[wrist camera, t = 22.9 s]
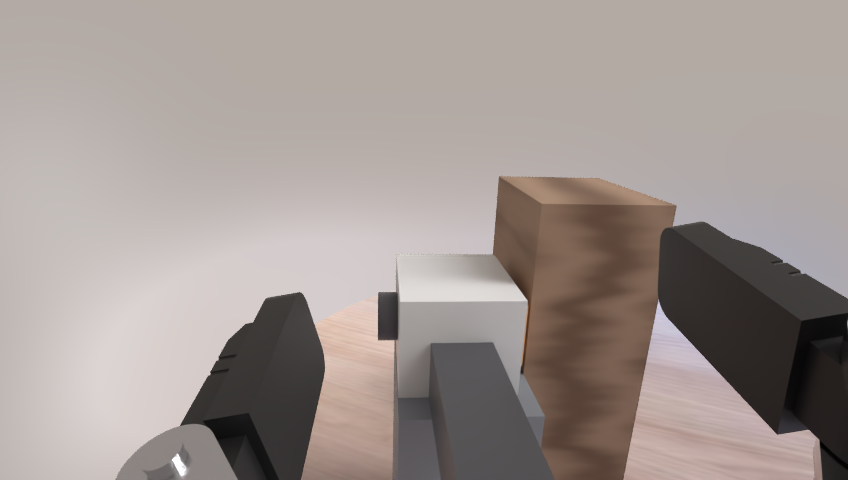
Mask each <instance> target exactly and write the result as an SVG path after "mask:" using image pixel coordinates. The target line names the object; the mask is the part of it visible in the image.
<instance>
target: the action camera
mask: <svg viewBox="0 0 848 480" xmlns="http://www.w3.org/2000/svg"><path fill="white" fill-rule="evenodd" d="M527 304H528V301H527V299H526V298H525V297H524V295H523V294H522V292H521V291H520V290H519V288H518V287H517V285H516V284H515V283H514V281H513V280H512V278H511V277H510V276H509V274H508V273H507V272H506V270H505V269H504V267H503V266H502V265H501V263H500V262H499V260H498V259H497V258H496V256H495V255H467V254H466V255H465V254H464V255H460V254H449V255H448V254H442V255H441V254H438V255H437V254H397V256H396V292H379V293H378V340H396V356H397V379H398V398H423V397H429V403H430V409H431V416H432V423H433V430H434V436H435V443H436V450H437V457H438V464H439V470H440V477H441V480H555V479H554V477H553V474H552V472H551V470H550V468H549V465H548V463H547V461H546V459H545V457H544V454H543V452H542V450H541V448H540V445H539V443H538V441H537V439H536V437H535V434H534V432H533V430H532V428H531V425H530V423H529V421H528V419H527V417H526V414H525V412H524V410H523V408H522V406H521V403H520V401H519V399H518V397H517V395H518V390H519V380H520V371H521V366H522V362H523V353H524V343H525V334H526V325H527V315H528V305H527Z"/></svg>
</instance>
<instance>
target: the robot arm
mask: <svg viewBox="0 0 848 480" xmlns="http://www.w3.org/2000/svg"><path fill="white" fill-rule="evenodd" d="M658 298H659V302H660V305H661V308H662V310H663V312H664V314H665V315H666V317H667V318H668V319H669V320H670V321H671V322H672V323H673V324H674V325H675V326H676V327H677V329H678V330H679V331H680V332H681V333H682V334H683V335H684V336H685V337H686V338H687V339H688V340H689V341H690V342H691V343H692V344H693V346H694V347H695V348H696V349H697V350H698V351H699V352H700V353H701V354H702V355H703V356H704V357H705V358H706V359H707V360H708V361H709V363H710V364H711V365H712V366H713V367H714V368H715V369H716V370H717V371H718V372H719V373H720V374H721V375H722V376H723V377H724V378H725V380H726V381H727V382H728V383H729V384H730V385H731V386H732V387H733V388H734V389H735V390H736V391H737V392H738V393H739V394H740V395H741V397H742V398H743V399H744V400H745V401H746V402H747V403H748V404H749V405H750V406H751V407H752V408H753V409H754V410H755V411H756V412H757V414H758V415H759V416H760V417H761V418H762V419H763V420H764V421H765V422H766V423H767V424H768V425H769V426H770V427H771V428H772V429H773V431H774V432H775V433H776V434H777V435H778V434H784V433H790V432H796V431H802V430H810V431H811V432H812V433H813V434H814V435H815V436H816V437H817V438H816V442H815V445H814V450H813V459H814V475H815V477H814V480H848V299H847V298H846V297H844V296H842V295H840V294H839V293H837V292H835V291H834V290H832V289H830V288H828V287H827V286H825V285H824V284H822V283H820V282H818V281H817V280H815V279H813V278H812V277H810V276H808V275H807V274H801V272H800V270H798V269H796V268H795V267H793V266H791V265H789V264H788V263H783V260H781V259H780V258H778V257H776V256H774V255H773V254H771V253H769V252H768V251H766V250H764V249H762V248H760V247H757V246H754V245H751V244H748V243H744V242H742V241H739V240H735V239H732V238H730V237H729V236H727V235H725V234H724V233H722V232H721V231H719V230H717V229H716V228H714V227H712V226H711V225H709V224H708V223H705V222H696V223H691V224H685V225H680V226H674V227H668V228H665V229H664V230H663V232H662V234H661V237H660V250H659V271H658ZM324 372H325V362H324V354H323V349H322V346H321V343H320V340H319V337H318V334H317V331H316V328H315V325H314V322H313V319H312V316H311V313H310V310H309V307H308V304H307V301H306V299H305V297H304V295H303V294H302V293H300V292H299V293H293V294H287V295H281V296H275V297H270V298H266V299H265V301H264V303H263V304H262V307H261V308H260V310H259V312H258V314H257V316H256V318H255V320H254V322H253V323H249V324H245V325H244V326H243V327H242V328H241V329H240V330H239V331H238V332H237V333H235V334H234V335H233V336H232V337H231V338H230V339H229V340H228V342H227V343H226V345H225V347H224V349H223V351H222V352H221V354H220V356H219V361H216V363H215V365H214V367H213V368H212V370H211V372H210V373H211V375H210V376H208V377H207V379H206V381H205V382H204V384H203V386H202V388H201V389H200V391H199V393H198V395H197V396H196V399H195V400H194V402H193V403H192V405H191V407H190V409H189V411H188V412H187V414H186V416H185V418H184V420H183V421H182V423H181V425H180V426H179V427H176V428H173V429H170V430H168V431H166V432H164V433H162V434H160V435H158V436H156V437H155V438H153V439H152V440H150V441H148V442H147V443H146V444H145V445H143V446H142V447H141V448H140V449H138V450H137V451H136V452H135V453H134V454H133V455H132V456H131V457H130V458H129V459H128V460H127V462H126V463H125V464H124V466H123V467H122V468H121V470H120V472H119V473H118V476H117V478H116V480H301V476H302V472H303V467H304V463H305V459H306V454H307V450H308V445H309V441H310V436H311V432H312V427H313V423H314V418H315V414H316V410H317V405H318V401H319V396H320V392H321V387H322V383H323V378H324Z"/></svg>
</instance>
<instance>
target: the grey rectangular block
mask: <svg viewBox="0 0 848 480" xmlns="http://www.w3.org/2000/svg"><path fill="white" fill-rule="evenodd" d="M517 397H518V399H519V401H520V403H521V406H522V408H523V410H524V412H525V414H526V417H527V419H528V421H529V423H530V425H531V428H532V430H533V432H534V434H535V437H536V439H537V441H538V443H539V445H540V448H541V443H542V435H543V428H544V420H545V415H544V413H543V411H542V409H541V408H540V406H539V404H538V402H537V400H536V398H535V396H534V394H533V392H532V390H531V388H530V386H529V384H528V382H527V380H526V378H525V376H524V374H523V372H522V370H521V371H520V380H519V390H518V395H517ZM393 480H441V477H440V470H439V464H438V457H437V450H436V443H435V436H434V430H433V423H432V416H431V409H430V403H429V397H423V398H398V379H397V356H396V340H395V351H394V423H393Z"/></svg>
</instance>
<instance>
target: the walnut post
mask: <svg viewBox="0 0 848 480" xmlns="http://www.w3.org/2000/svg"><path fill="white" fill-rule="evenodd" d="M675 211H676V205H673V204H671V203H668V202H665V201H662V200H659V199H656V198H653V197H650V196H648V195H645V194H642V193H639V192H636V191H633V190H630V189H628V188H625V187H622V186H619V185H616V184H613V183H610V182H608V181H605V180H602V179H599V178H555V177H502V176H500V177H499V184H498V196H497V210H496V222H495V235H494V247H493V255H495V256H496V258H497V259H498V260H499V262H500V263H501V265H502V266H503V267H504V269H505V270H506V272H507V273H508V274H509V276H510V277H511V278H512V280H513V281H514V283H515V284H516V285H517V287H518V288H519V290H520V291H521V292H522V294H523V295H524V297H525V298H526V299H527V301H528V304H527V305H528V315H527V325H526V334H525V343H524V353H523V362H522V366H521V370H522V372H523V374H524V376H525V378H526V380H527V382H528V384H529V386H530V388H531V390H532V392H533V394H534V396H535V398H536V400H537V402H538V404H539V406H540V408H541V409H542V411H543V413H544V415H545V420H544V428H543V435H542V443H541V450H542V452H543V454H544V457H545V459H546V461H547V463H548V465H549V468H550V470H551V472H552V474H553V477H554V479H555V480H623V478H624V473H625V468H626V462H627V457H628V452H629V447H630V442H631V437H632V432H633V427H634V421H635V416H636V411H637V406H638V401H639V396H640V391H641V386H642V381H643V375H644V370H645V365H646V360H647V355H648V350H649V345H650V340H651V334H652V329H653V324H654V319H655V314H656V309H657V304H658V299H659V298H658V271H659V250H660V237H661V234H662V232H663V230H664V229H665V228H668V227H673V222H674V216H675Z"/></svg>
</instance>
